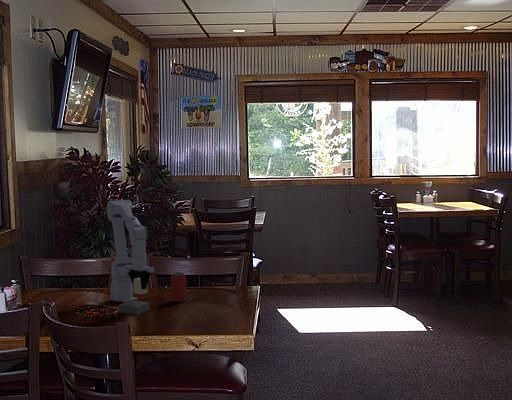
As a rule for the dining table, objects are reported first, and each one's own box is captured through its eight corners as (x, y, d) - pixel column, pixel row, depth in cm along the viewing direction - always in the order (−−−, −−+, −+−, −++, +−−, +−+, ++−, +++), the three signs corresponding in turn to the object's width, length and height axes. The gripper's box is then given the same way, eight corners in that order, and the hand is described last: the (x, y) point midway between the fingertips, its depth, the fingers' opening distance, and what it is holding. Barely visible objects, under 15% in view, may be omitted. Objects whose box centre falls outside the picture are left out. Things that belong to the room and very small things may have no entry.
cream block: (133, 293, 281) (133, 278, 281) (140, 291, 285) (140, 277, 285) (140, 294, 279) (140, 279, 279) (147, 292, 283) (147, 278, 282)
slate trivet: (118, 312, 276) (118, 305, 276) (131, 307, 284) (131, 300, 284) (137, 314, 272) (136, 307, 272) (149, 309, 280) (149, 302, 280)
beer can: (183, 302, 292) (183, 275, 291) (169, 302, 294) (168, 274, 293) (188, 299, 299) (187, 272, 298) (173, 299, 300) (173, 272, 299)
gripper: (119, 256, 281) (120, 288, 282) (145, 258, 273) (146, 291, 274) (131, 253, 287) (132, 285, 288) (157, 256, 279) (158, 288, 280)
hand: (139, 288), depth 282 cm, fingers closed on cream block, 4 cm apart
